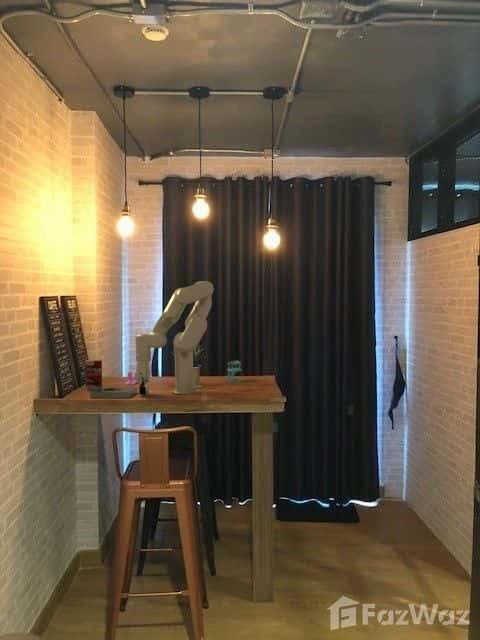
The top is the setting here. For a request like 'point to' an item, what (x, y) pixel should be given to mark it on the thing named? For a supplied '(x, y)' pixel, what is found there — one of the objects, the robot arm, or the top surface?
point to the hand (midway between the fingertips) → (144, 393)
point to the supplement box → (93, 374)
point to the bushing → (146, 388)
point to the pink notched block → (130, 381)
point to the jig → (113, 392)
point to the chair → (233, 371)
